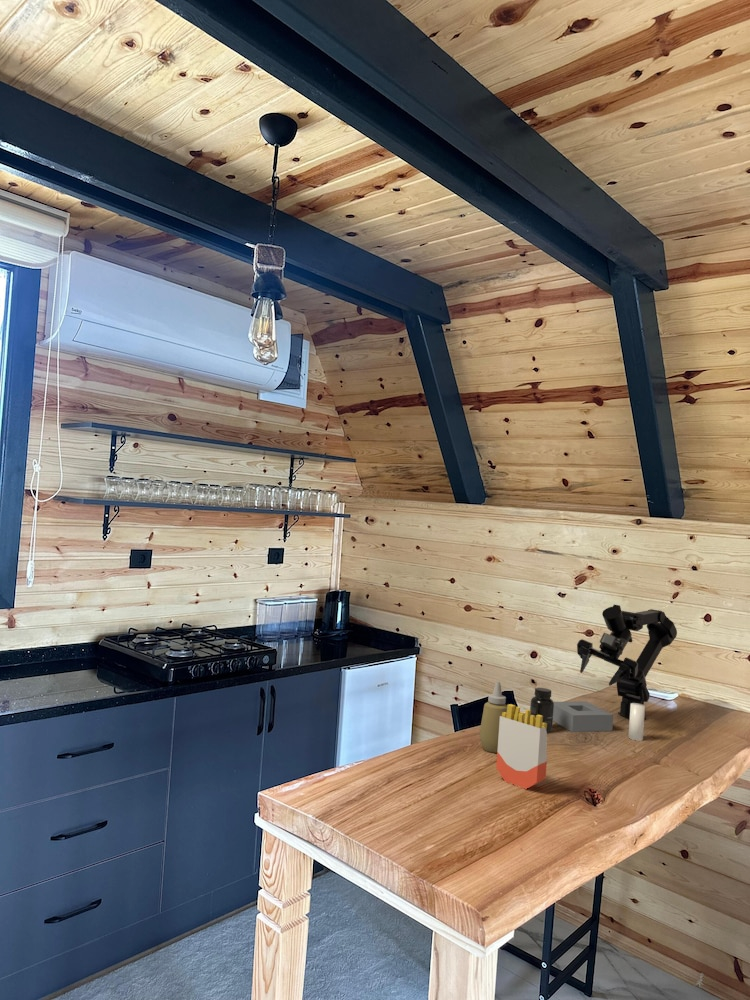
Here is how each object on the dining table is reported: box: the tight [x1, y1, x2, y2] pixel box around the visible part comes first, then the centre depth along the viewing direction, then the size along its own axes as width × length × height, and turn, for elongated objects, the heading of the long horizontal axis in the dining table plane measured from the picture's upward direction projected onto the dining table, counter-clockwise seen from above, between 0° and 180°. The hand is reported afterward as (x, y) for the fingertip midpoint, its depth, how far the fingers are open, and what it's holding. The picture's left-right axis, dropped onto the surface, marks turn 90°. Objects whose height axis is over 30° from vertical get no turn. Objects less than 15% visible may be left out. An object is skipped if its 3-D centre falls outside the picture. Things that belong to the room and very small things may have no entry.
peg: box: [627, 703, 646, 742], centre depth 201 cm, size 4×4×10 cm
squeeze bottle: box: [479, 681, 508, 754], centre depth 183 cm, size 8×8×18 cm
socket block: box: [553, 700, 614, 733], centre depth 212 cm, size 14×14×5 cm
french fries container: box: [495, 703, 548, 790], centre depth 160 cm, size 5×11×18 cm, turn 47°
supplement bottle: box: [529, 687, 555, 734], centre depth 204 cm, size 7×7×12 cm
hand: (594, 678), depth 208 cm, fingers open, 9 cm apart
